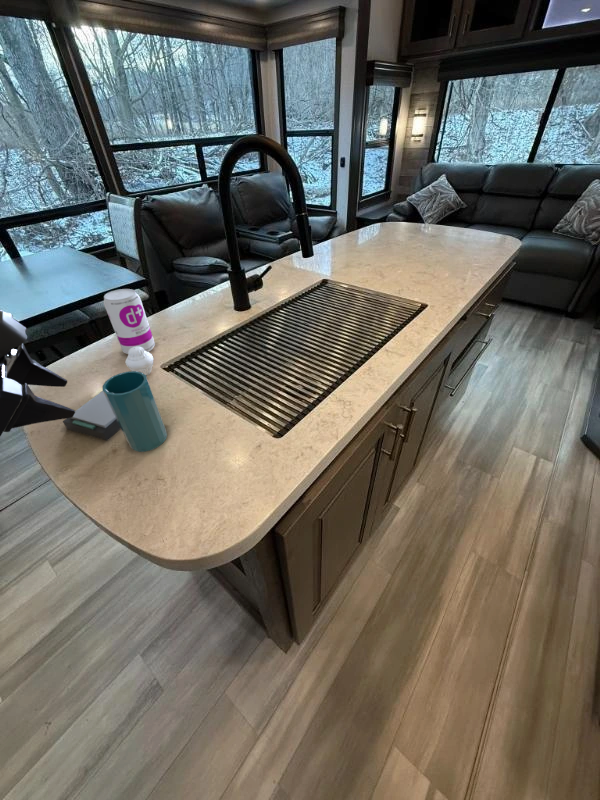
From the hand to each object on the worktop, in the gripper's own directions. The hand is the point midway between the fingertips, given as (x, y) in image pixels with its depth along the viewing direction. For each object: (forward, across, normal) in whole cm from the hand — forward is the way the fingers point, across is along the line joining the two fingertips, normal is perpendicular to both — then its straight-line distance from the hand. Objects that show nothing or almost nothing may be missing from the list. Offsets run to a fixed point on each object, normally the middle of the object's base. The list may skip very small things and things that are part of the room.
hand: (69, 398), depth 50 cm
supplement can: (+20, +36, -1) cm, 41 cm away
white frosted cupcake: (+19, +23, 0) cm, 30 cm away
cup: (+15, 0, +4) cm, 15 cm away
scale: (+12, +12, +7) cm, 18 cm away
